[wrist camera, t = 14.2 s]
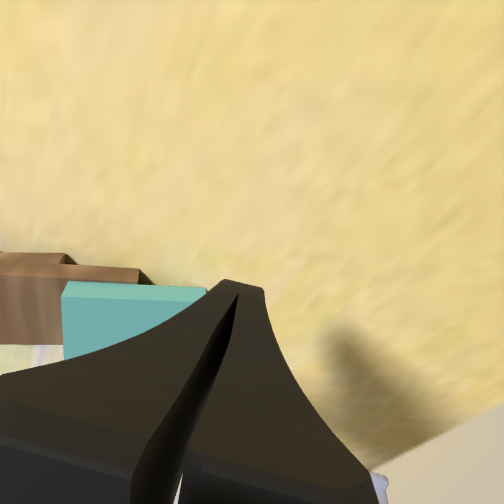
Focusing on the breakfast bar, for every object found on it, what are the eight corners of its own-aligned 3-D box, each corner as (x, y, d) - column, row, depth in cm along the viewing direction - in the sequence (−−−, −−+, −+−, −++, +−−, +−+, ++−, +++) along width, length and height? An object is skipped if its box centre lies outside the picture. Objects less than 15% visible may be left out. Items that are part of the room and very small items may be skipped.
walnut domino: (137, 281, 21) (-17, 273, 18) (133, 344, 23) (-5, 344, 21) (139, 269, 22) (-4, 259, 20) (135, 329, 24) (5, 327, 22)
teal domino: (207, 302, 20) (60, 296, 18) (197, 364, 23) (64, 365, 20) (205, 287, 22) (68, 280, 20) (195, 347, 24) (71, 346, 22)
